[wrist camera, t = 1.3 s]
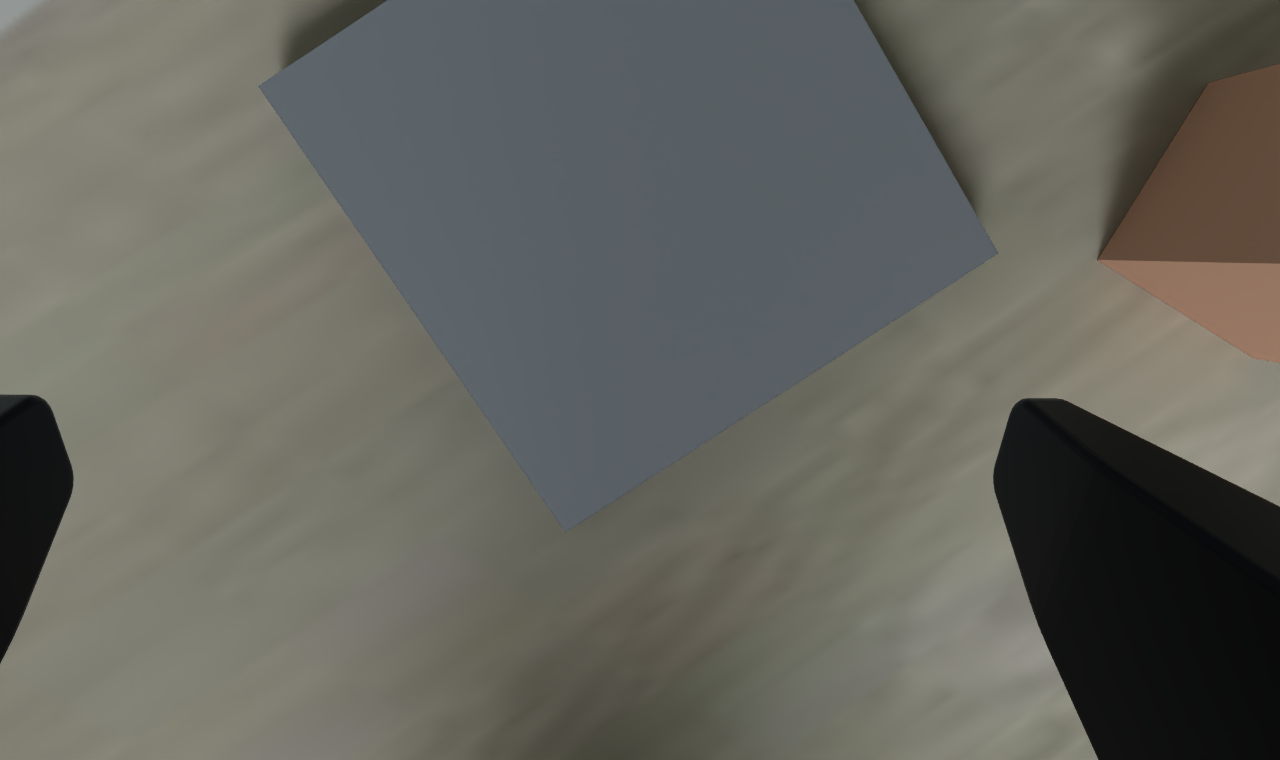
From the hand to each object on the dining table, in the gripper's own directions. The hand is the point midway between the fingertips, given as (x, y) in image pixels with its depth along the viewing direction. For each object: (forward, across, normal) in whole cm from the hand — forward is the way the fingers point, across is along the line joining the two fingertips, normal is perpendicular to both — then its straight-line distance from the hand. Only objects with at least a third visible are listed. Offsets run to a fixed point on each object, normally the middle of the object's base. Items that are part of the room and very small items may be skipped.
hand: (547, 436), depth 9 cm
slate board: (+14, -2, +2) cm, 15 cm away
